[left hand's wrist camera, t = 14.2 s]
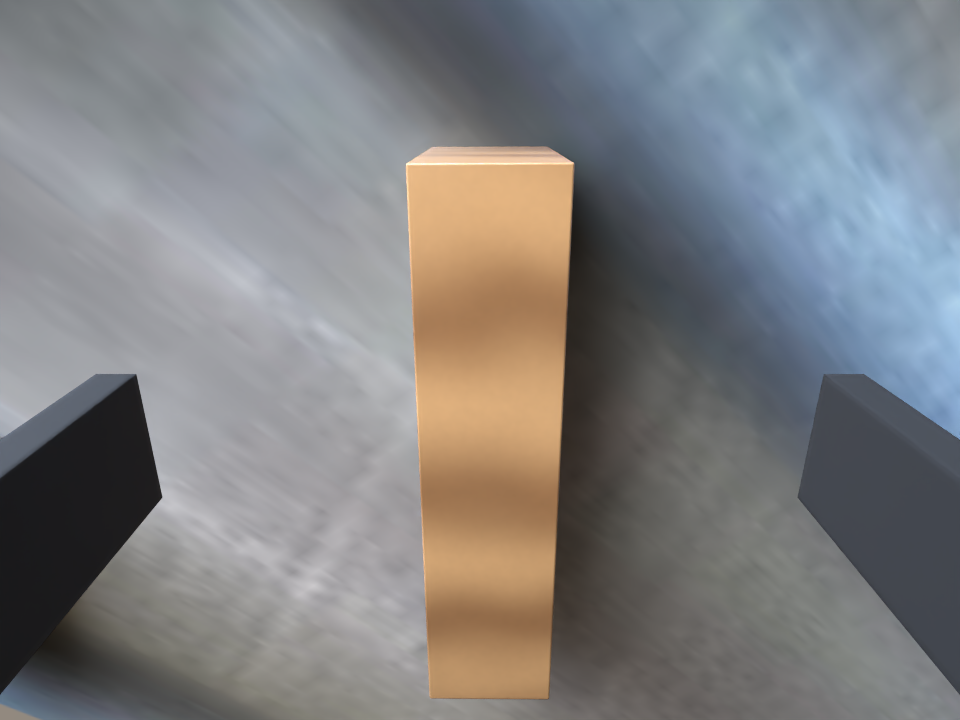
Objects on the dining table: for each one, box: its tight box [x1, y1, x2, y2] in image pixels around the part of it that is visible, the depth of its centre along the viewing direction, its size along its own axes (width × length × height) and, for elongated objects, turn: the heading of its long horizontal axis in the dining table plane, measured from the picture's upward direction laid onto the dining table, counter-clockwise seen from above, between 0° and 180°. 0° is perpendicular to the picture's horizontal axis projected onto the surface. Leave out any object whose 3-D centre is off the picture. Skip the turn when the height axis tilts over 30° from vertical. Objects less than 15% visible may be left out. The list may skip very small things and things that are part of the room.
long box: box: [406, 147, 575, 699], centre depth 32 cm, size 26×6×11 cm, turn 0°
